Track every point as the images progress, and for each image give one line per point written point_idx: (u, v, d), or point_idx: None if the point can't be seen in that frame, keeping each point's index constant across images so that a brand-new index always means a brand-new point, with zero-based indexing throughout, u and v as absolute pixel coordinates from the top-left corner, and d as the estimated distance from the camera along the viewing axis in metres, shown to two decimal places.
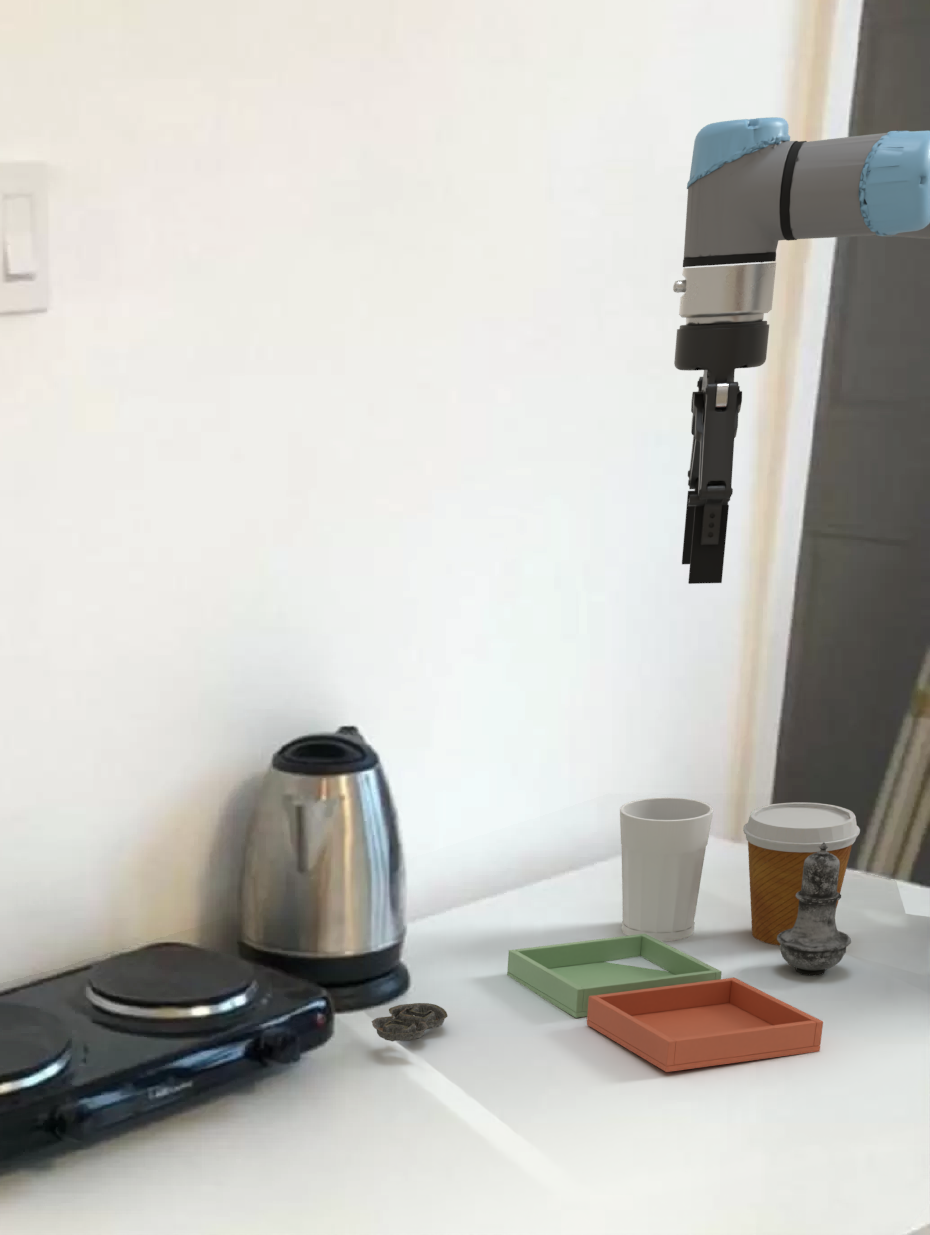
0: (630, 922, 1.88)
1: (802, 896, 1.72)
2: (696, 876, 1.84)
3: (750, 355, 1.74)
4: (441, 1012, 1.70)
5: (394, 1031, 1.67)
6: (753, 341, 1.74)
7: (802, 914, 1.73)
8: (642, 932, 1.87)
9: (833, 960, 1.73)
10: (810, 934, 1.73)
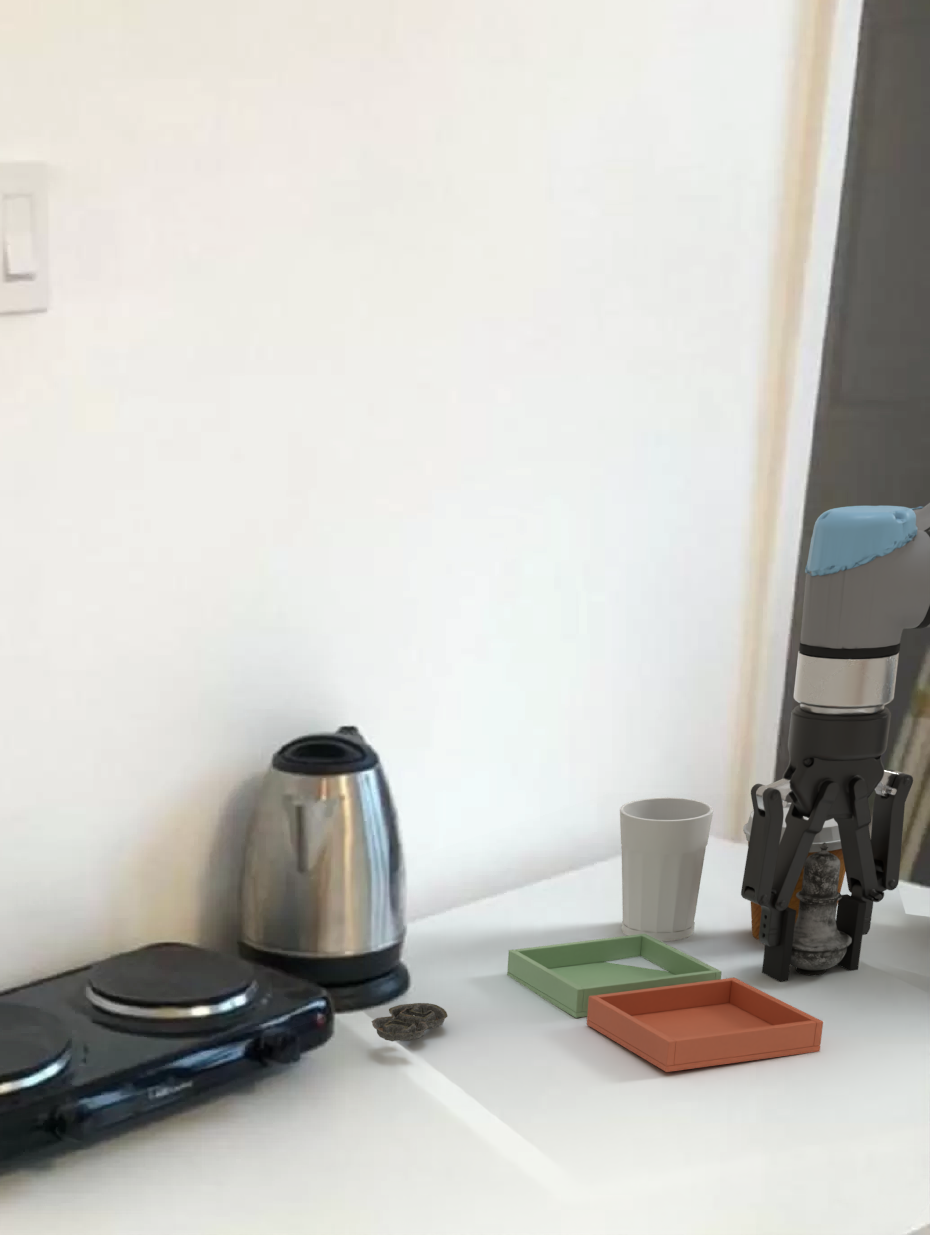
0: (630, 922, 1.88)
1: (803, 896, 1.72)
2: (696, 876, 1.84)
3: (821, 749, 1.65)
4: (441, 1012, 1.70)
5: (394, 1031, 1.67)
6: (825, 735, 1.65)
7: (803, 914, 1.73)
8: (642, 932, 1.87)
9: (834, 960, 1.73)
10: (810, 934, 1.73)
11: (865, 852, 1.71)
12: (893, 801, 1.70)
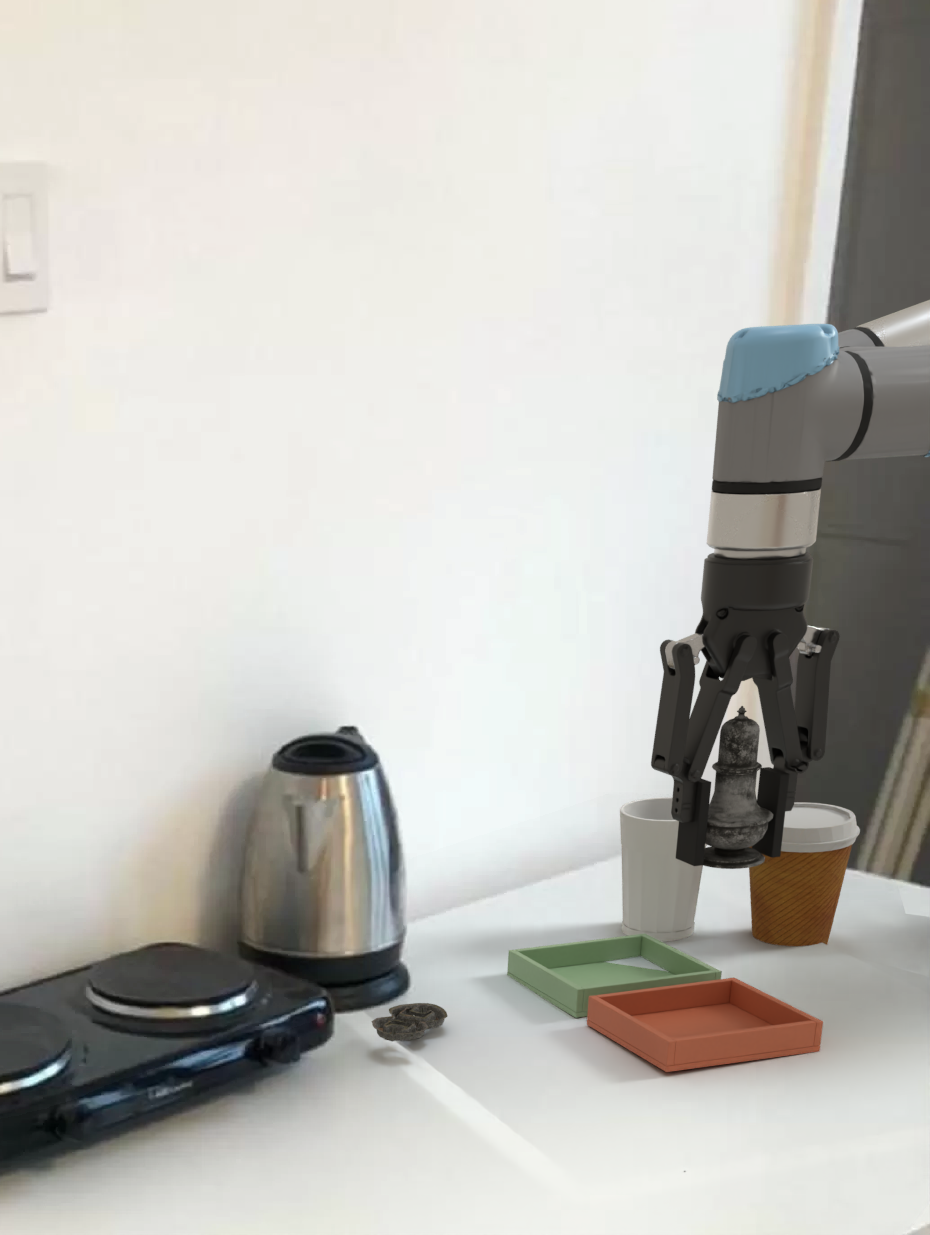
0: (630, 922, 1.88)
1: (719, 766, 1.56)
2: (696, 876, 1.84)
3: (735, 597, 1.49)
4: (441, 1012, 1.70)
5: (394, 1031, 1.67)
6: (739, 582, 1.49)
7: (719, 787, 1.57)
8: (642, 932, 1.87)
9: (753, 837, 1.56)
10: (727, 809, 1.56)
11: (787, 717, 1.55)
12: (818, 660, 1.54)
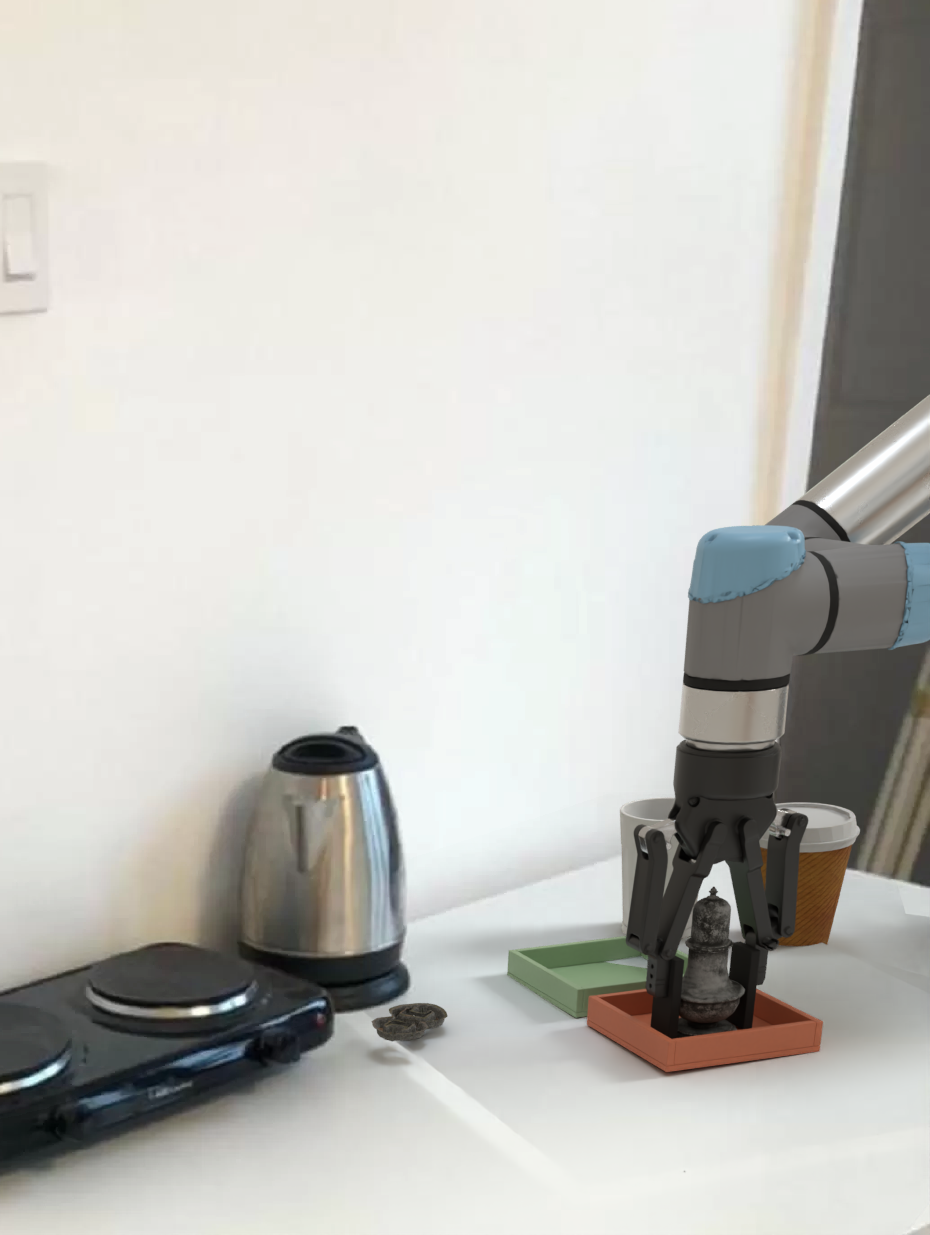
0: None
1: (691, 944, 1.60)
2: None
3: (706, 788, 1.53)
4: (441, 1012, 1.70)
5: (394, 1031, 1.67)
6: (710, 773, 1.53)
7: (692, 963, 1.61)
8: None
9: (725, 1013, 1.61)
10: (700, 985, 1.61)
11: (758, 897, 1.59)
12: (787, 843, 1.58)
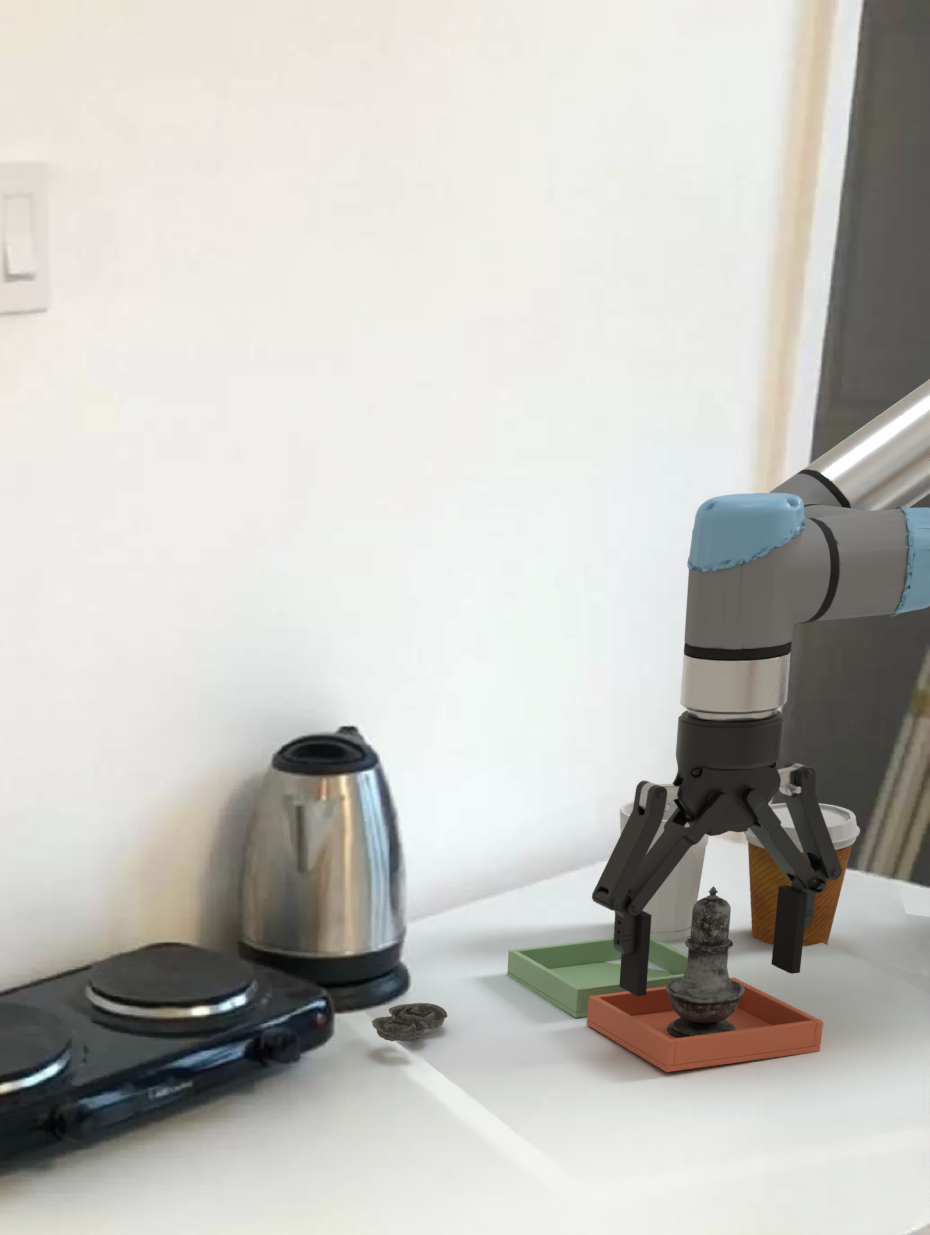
0: None
1: (691, 944, 1.60)
2: (696, 876, 1.84)
3: (709, 758, 1.52)
4: (441, 1012, 1.70)
5: (394, 1031, 1.67)
6: (712, 743, 1.52)
7: (691, 963, 1.61)
8: None
9: (725, 1013, 1.61)
10: (700, 985, 1.61)
11: (789, 850, 1.58)
12: (802, 798, 1.56)
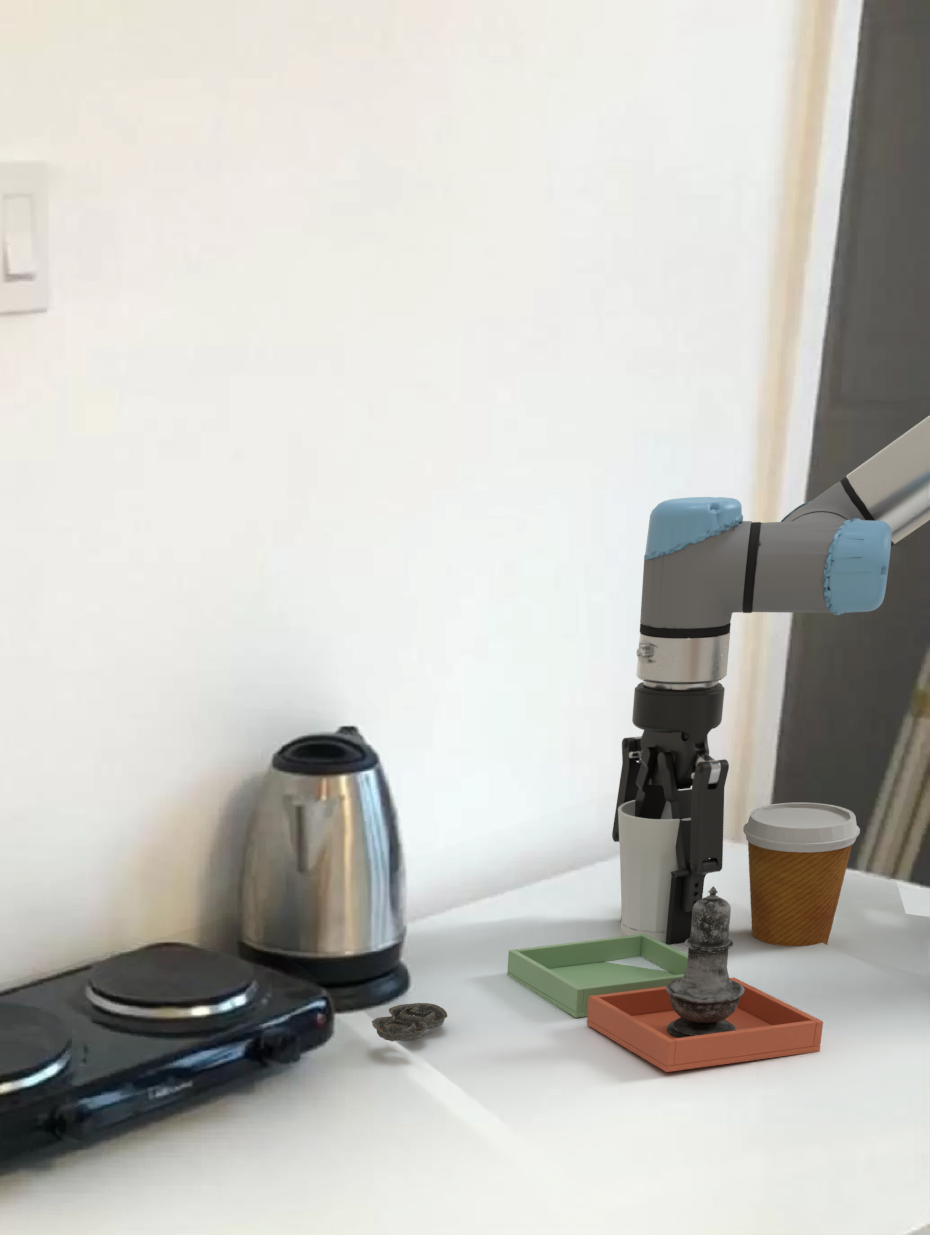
0: (629, 922, 1.88)
1: (691, 944, 1.60)
2: None
3: (719, 718, 1.79)
4: (441, 1012, 1.70)
5: (394, 1031, 1.67)
6: (720, 704, 1.79)
7: (691, 963, 1.61)
8: (641, 931, 1.87)
9: (725, 1013, 1.61)
10: (700, 985, 1.61)
11: None
12: None
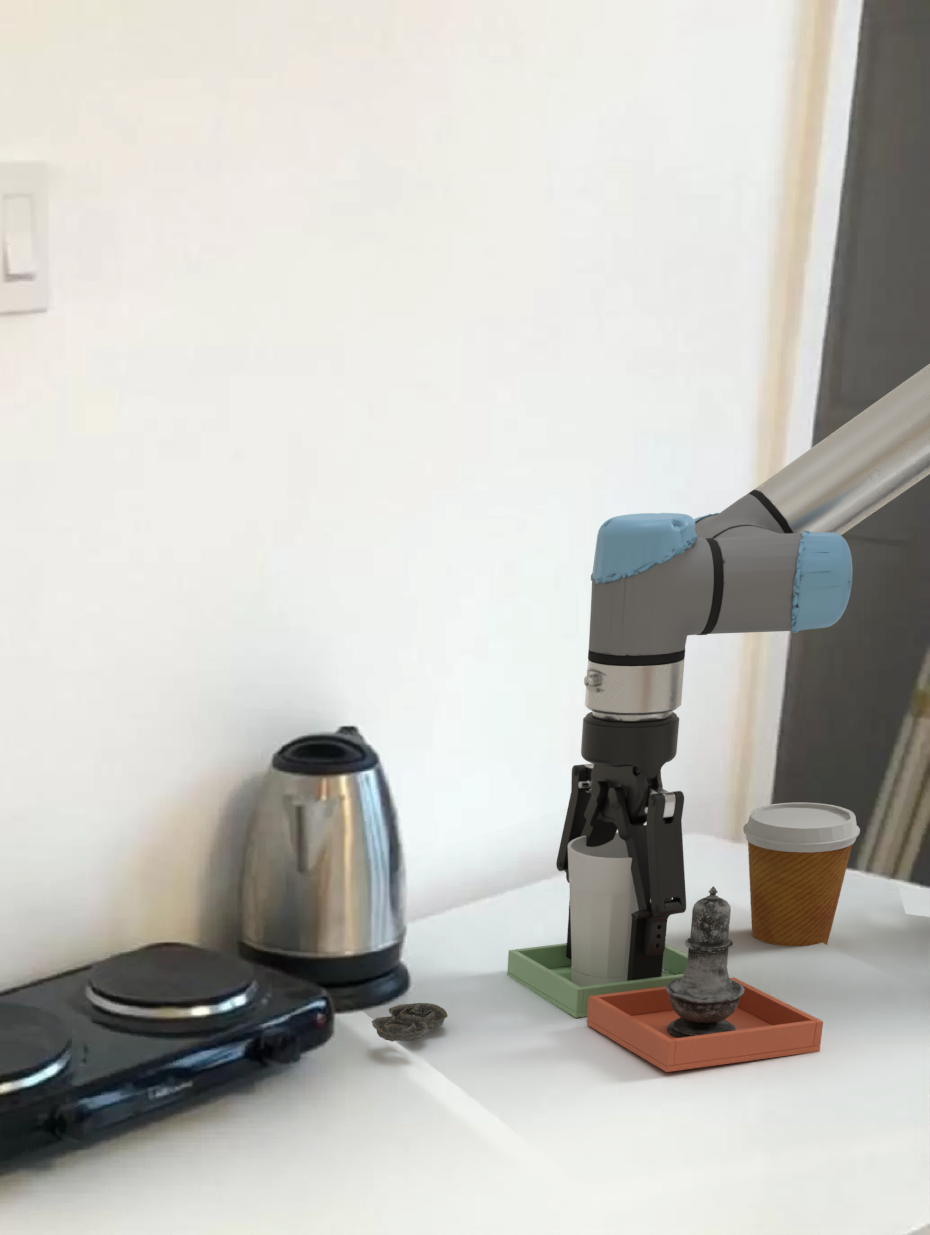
0: (579, 966, 1.75)
1: (691, 944, 1.60)
2: None
3: (673, 750, 1.66)
4: (441, 1012, 1.70)
5: (394, 1031, 1.67)
6: (675, 736, 1.66)
7: (691, 963, 1.61)
8: (592, 977, 1.74)
9: (725, 1013, 1.61)
10: (700, 985, 1.61)
11: None
12: None
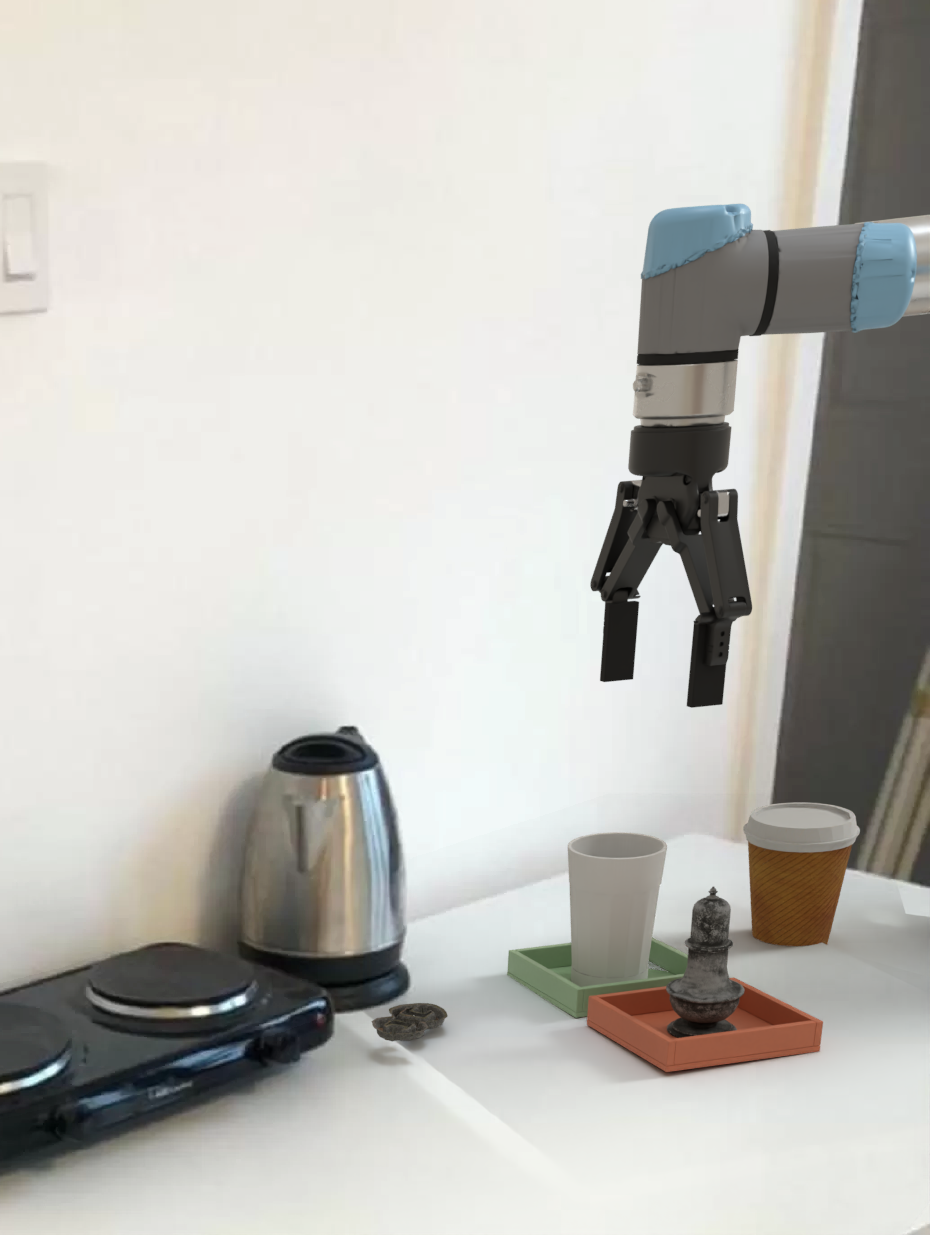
0: (579, 966, 1.75)
1: (691, 944, 1.60)
2: (649, 917, 1.72)
3: (725, 459, 1.60)
4: (441, 1012, 1.70)
5: (394, 1031, 1.67)
6: (727, 444, 1.60)
7: (691, 963, 1.61)
8: (592, 977, 1.74)
9: (725, 1013, 1.61)
10: (700, 985, 1.61)
11: None
12: None
